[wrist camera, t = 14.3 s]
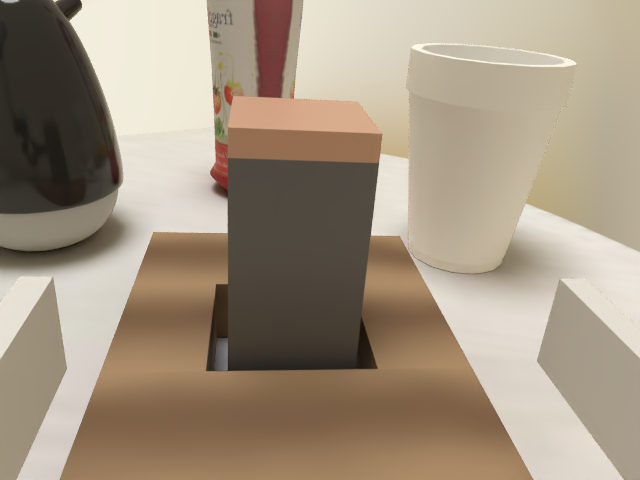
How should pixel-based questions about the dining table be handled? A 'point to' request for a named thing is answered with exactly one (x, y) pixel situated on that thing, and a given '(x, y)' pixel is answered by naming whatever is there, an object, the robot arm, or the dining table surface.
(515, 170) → the foam cup
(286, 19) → the liquor
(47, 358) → the robot arm
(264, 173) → the grey tall block
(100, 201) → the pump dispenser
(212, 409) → the socket plate
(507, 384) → the dining table surface
